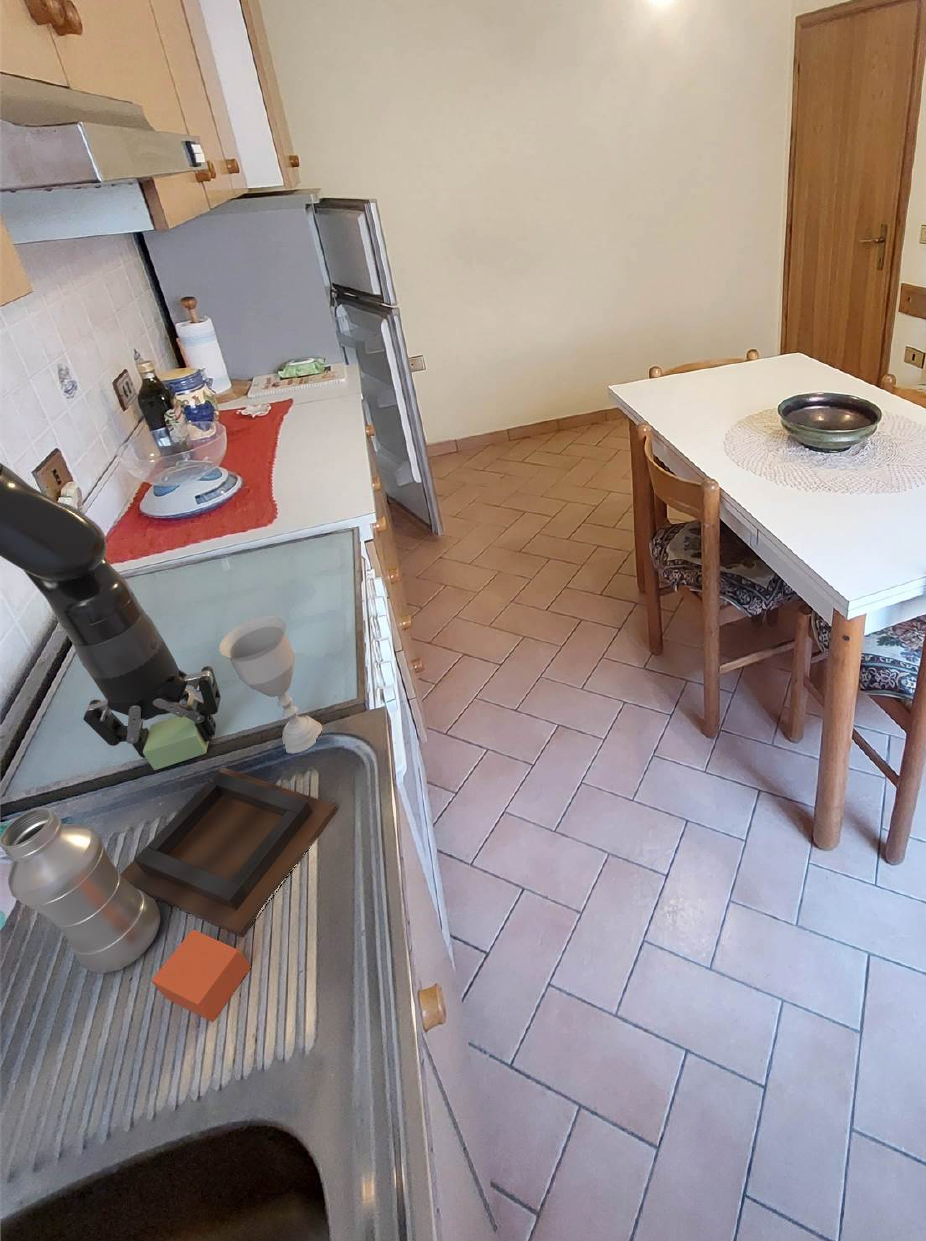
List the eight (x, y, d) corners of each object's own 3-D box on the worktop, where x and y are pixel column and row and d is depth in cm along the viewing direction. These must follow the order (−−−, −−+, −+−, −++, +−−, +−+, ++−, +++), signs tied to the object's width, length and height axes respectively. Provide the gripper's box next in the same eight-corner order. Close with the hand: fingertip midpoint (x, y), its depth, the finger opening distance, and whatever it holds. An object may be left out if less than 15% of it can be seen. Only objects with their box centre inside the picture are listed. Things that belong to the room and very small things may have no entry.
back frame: (120, 883, 73) (107, 868, 72) (225, 771, 84) (215, 756, 83) (242, 938, 67) (231, 922, 66) (338, 809, 78) (330, 794, 77)
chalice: (332, 707, 92) (288, 609, 83) (329, 748, 86) (282, 646, 77) (275, 725, 90) (225, 626, 81) (269, 767, 84) (213, 666, 76)
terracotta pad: (166, 999, 63) (150, 981, 61) (206, 947, 67) (192, 928, 65) (212, 1022, 61) (197, 1004, 59) (251, 968, 65) (238, 949, 63)
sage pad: (154, 770, 85) (142, 752, 83) (162, 742, 89) (151, 724, 87) (206, 753, 86) (195, 735, 85) (212, 726, 90) (202, 709, 89)
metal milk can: (169, 950, 67) (71, 832, 57) (89, 999, 64) (-30, 883, 54) (166, 895, 71) (75, 777, 62) (91, 938, 68) (-18, 821, 59)
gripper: (197, 613, 84) (245, 705, 92) (65, 650, 80) (127, 742, 88) (185, 654, 78) (238, 748, 86) (41, 695, 74) (110, 790, 82)
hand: (181, 744), depth 87 cm, fingers closed on sage pad, 6 cm apart
